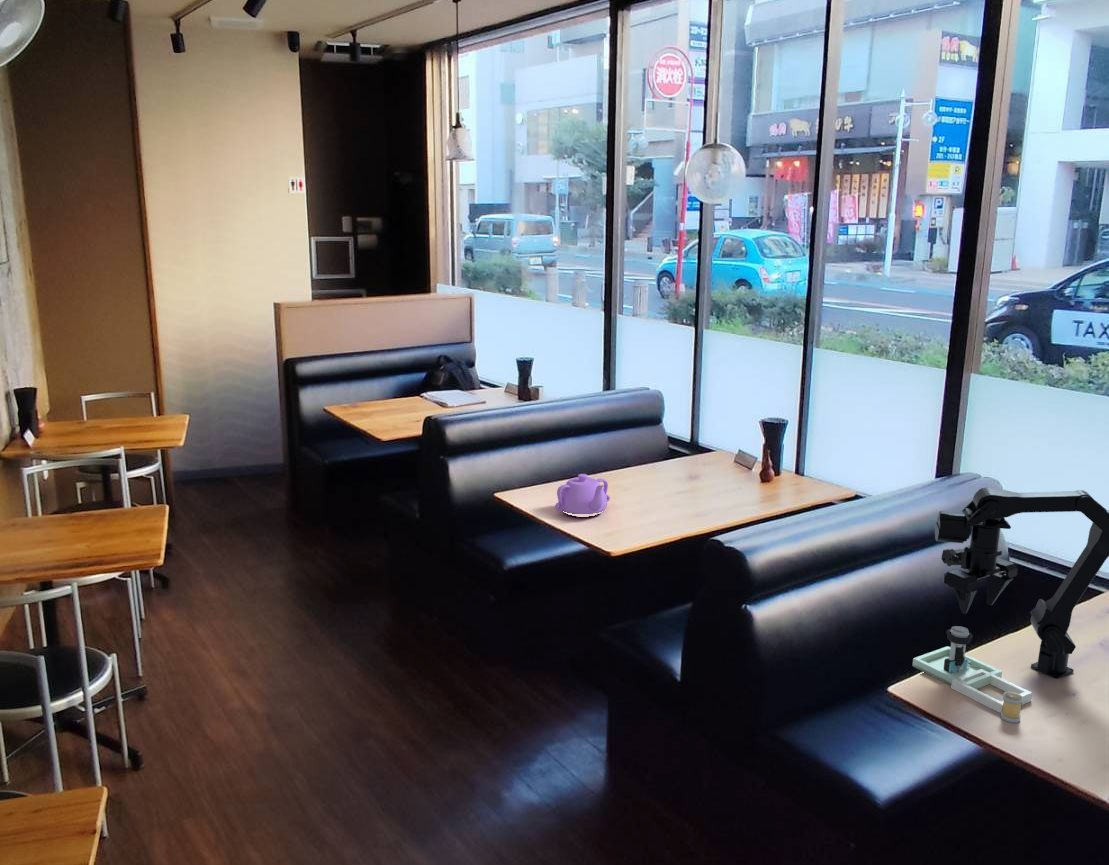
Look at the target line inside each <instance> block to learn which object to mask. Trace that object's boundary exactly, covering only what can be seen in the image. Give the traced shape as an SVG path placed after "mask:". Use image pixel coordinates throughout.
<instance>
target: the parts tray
mask: <svg viewBox="0 0 1109 865" xmlns="http://www.w3.org/2000/svg"><path fill="white" fill-rule="evenodd" d="M950 648H951V646H944V647H941V648H939V649H936V650H933V651H931V652H927V653H924V654H922V655H919V656H916V657H914V658H913V659H912V667H913V668H915V669H917V670H919V671H921V672H923V673H924V674H927V675H929V676H931V677H933V678H935V679H937V680H939V681H941V682H943V683H945V684H947V685H949V686H950V687H951V686H952V680H954V679H956V680H958V681H960V682H962V683H964V684H967V685H969V686H971V687H973V688H975V689H977V690H978V689H981V688H983V687H985V686H989V685H991V684H990V678H991V675H996V676H998V677H1000V678H1002V675H1003V670H1001V669H998V668H996V667H994V666H992V665H989V664H988V663H986V662H983V661H981V660H979V659H977V658H974V657H972V656H970V655H969V654H966V653H965V659H967V660H969V661H971V662H969V661H968V662H969V663H967V664H969V665H970V666H967V669H966V670H965V671H963V672H962V673H959V672H956V673H952V674H951V673H949V672H947V671H946V670H944V661H945V659H947V658H949V656H950ZM980 669H983V670H985V671H987V672H989V673H987V674H985V675H982V676H980V677H977V678H974V679H972V680H969V681H967V682H966V681H964V680H962V679H960V678H959V677H961V676H964V675H967V674H969V673H972V672H975V671H977V670H980Z"/></svg>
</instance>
